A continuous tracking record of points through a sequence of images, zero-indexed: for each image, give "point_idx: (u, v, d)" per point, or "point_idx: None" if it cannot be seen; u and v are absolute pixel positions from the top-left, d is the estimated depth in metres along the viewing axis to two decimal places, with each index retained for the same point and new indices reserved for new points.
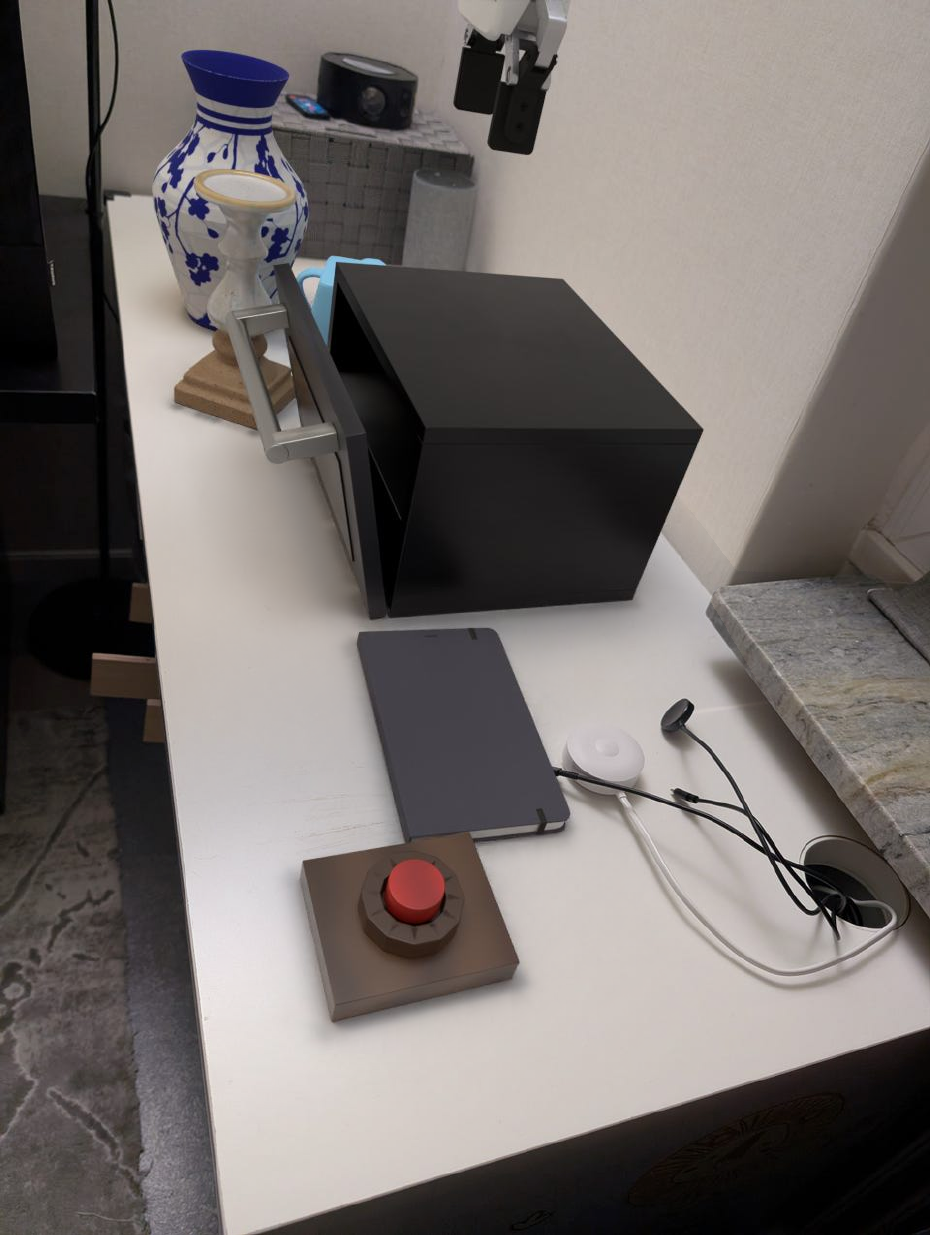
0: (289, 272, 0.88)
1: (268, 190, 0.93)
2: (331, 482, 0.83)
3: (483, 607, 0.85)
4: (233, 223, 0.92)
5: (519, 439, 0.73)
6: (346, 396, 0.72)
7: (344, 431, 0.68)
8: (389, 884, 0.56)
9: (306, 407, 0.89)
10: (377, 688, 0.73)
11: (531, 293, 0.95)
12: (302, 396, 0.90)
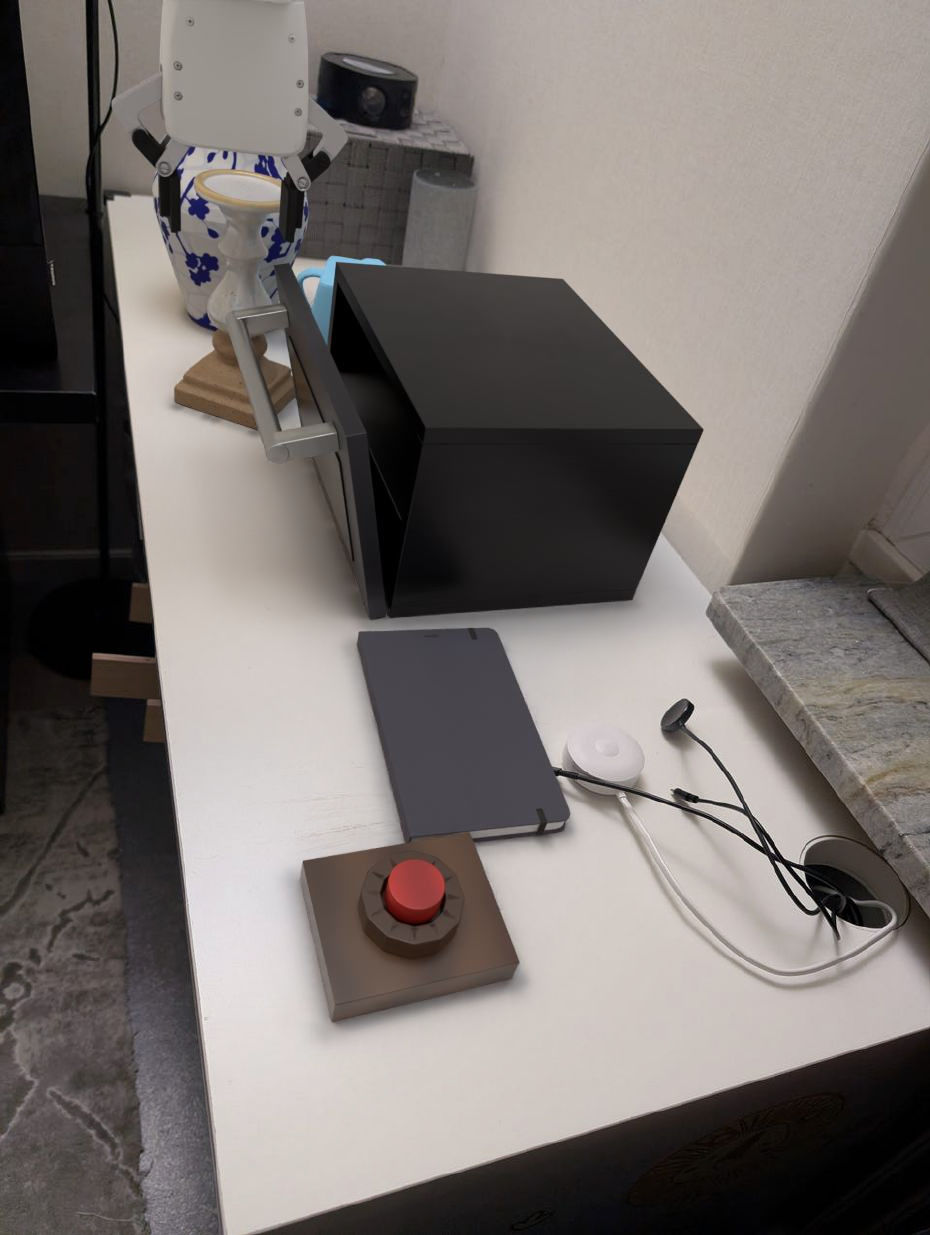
0: (289, 272, 0.88)
1: (268, 190, 0.93)
2: (331, 482, 0.83)
3: (483, 607, 0.85)
4: (233, 223, 0.92)
5: (519, 439, 0.73)
6: (347, 396, 0.72)
7: (345, 431, 0.68)
8: (389, 884, 0.56)
9: (306, 407, 0.89)
10: (377, 688, 0.73)
11: (531, 293, 0.95)
12: (302, 396, 0.90)
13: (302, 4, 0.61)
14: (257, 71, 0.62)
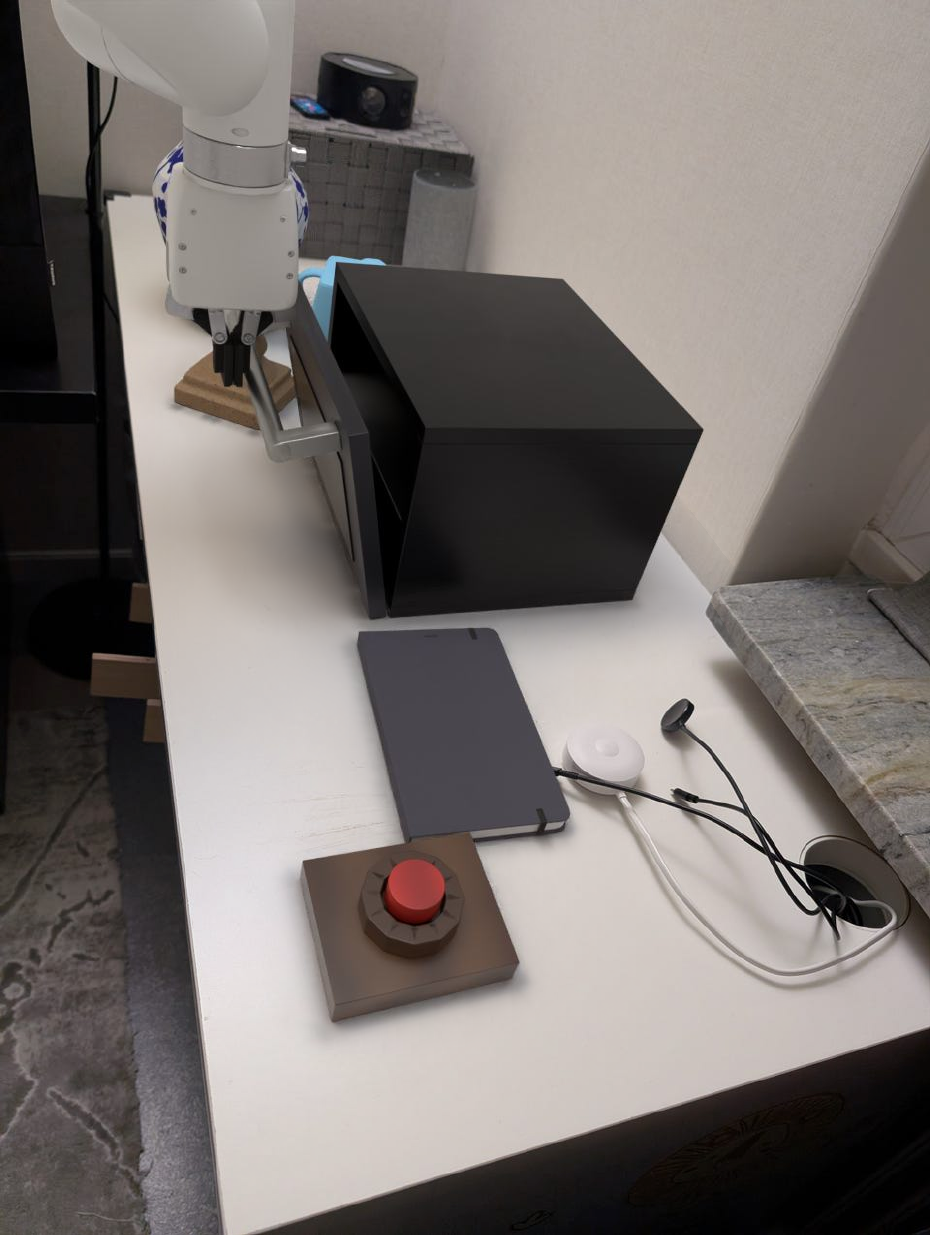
0: None
1: None
2: (332, 482, 0.83)
3: (483, 607, 0.85)
4: None
5: (519, 439, 0.73)
6: (349, 396, 0.72)
7: (347, 430, 0.68)
8: (389, 884, 0.56)
9: (307, 407, 0.89)
10: (377, 688, 0.73)
11: (531, 293, 0.95)
12: (303, 396, 0.90)
13: (292, 189, 0.69)
14: (252, 247, 0.70)
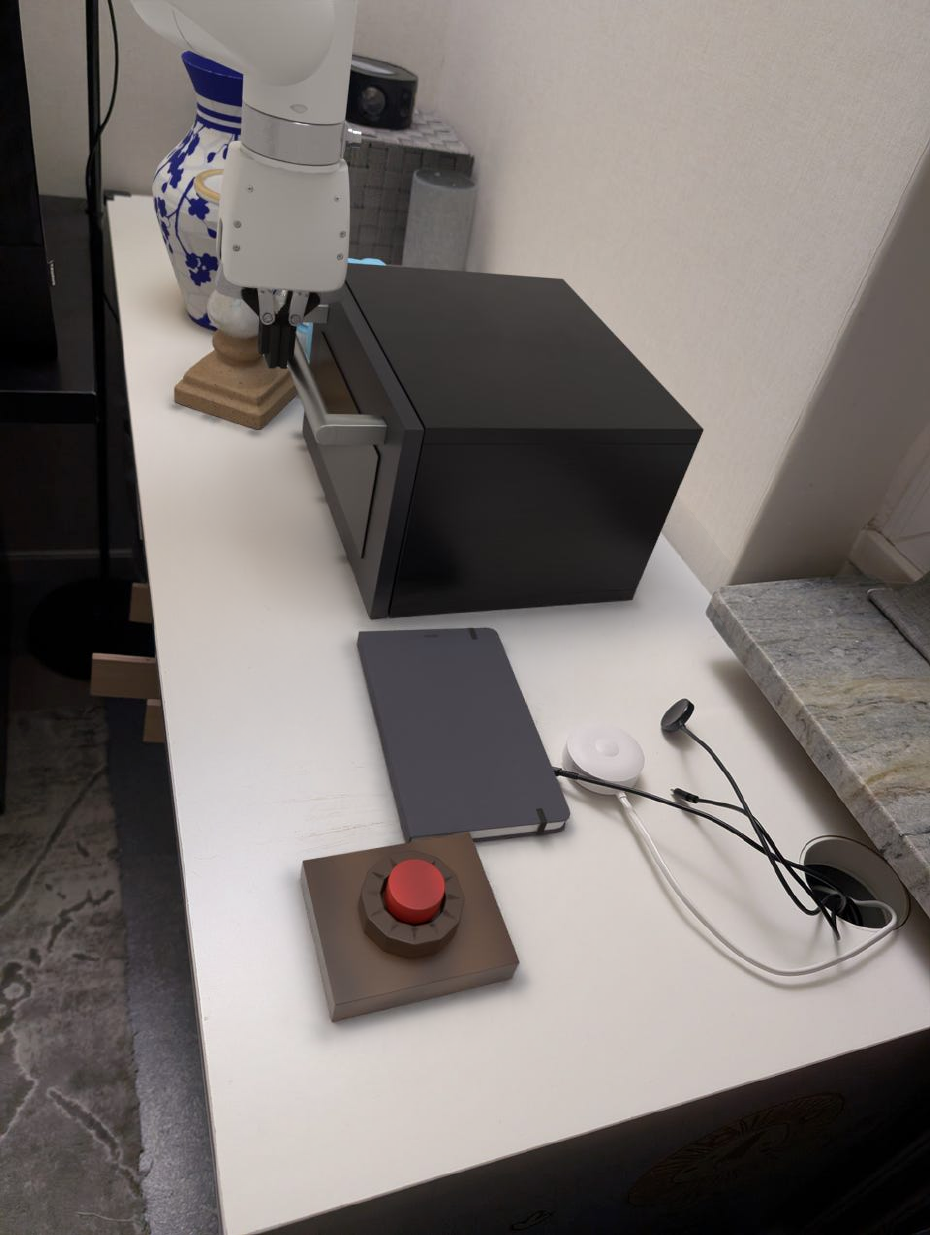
0: None
1: None
2: (351, 478, 0.84)
3: (483, 607, 0.85)
4: None
5: (519, 439, 0.73)
6: (402, 393, 0.73)
7: (403, 424, 0.69)
8: (389, 884, 0.56)
9: (329, 403, 0.90)
10: (377, 688, 0.73)
11: (531, 293, 0.95)
12: (325, 392, 0.91)
13: (346, 169, 0.69)
14: (306, 226, 0.70)
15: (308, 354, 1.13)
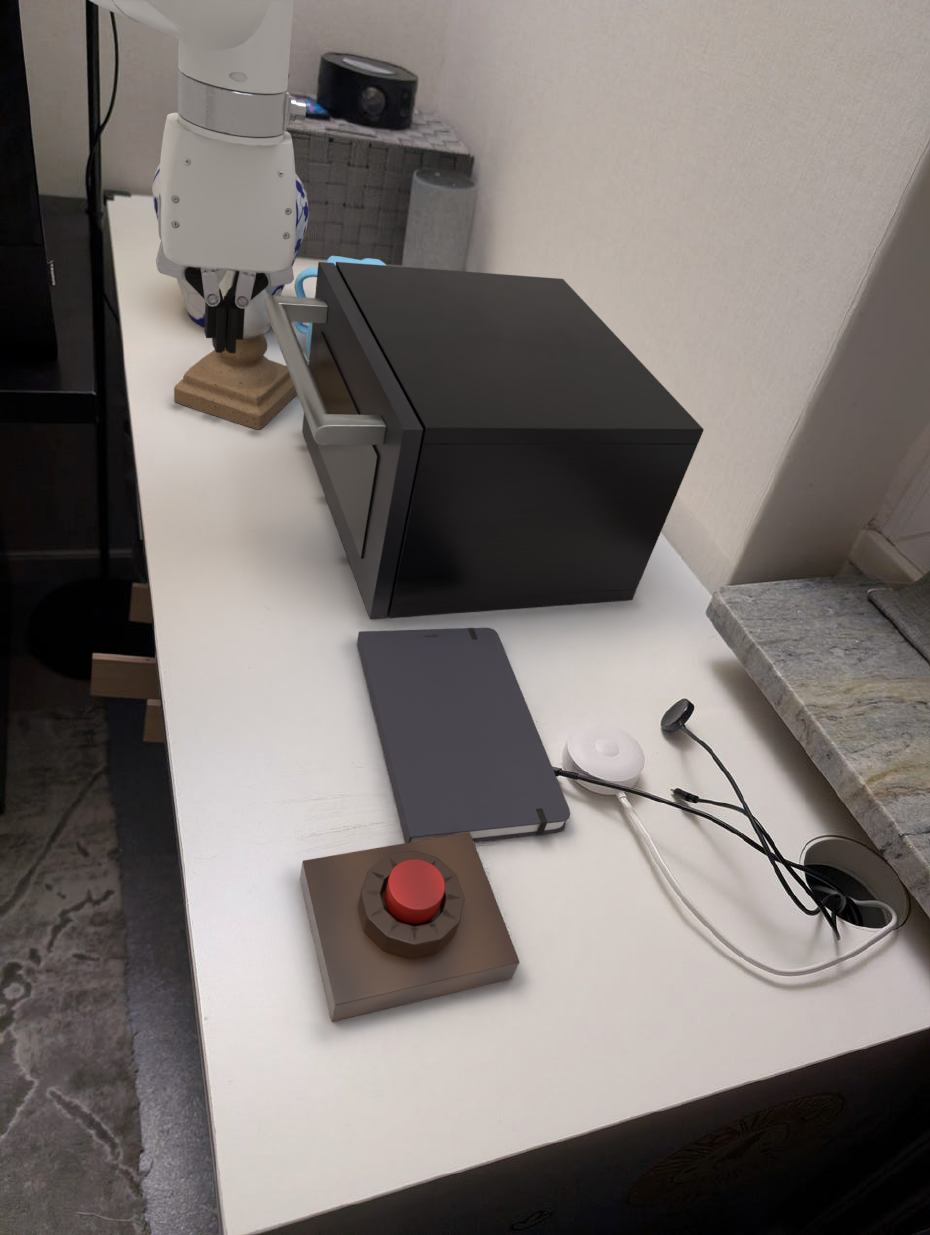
0: (335, 271, 0.89)
1: None
2: (350, 478, 0.84)
3: (483, 607, 0.85)
4: None
5: (519, 439, 0.73)
6: (401, 393, 0.73)
7: (402, 424, 0.69)
8: (389, 884, 0.56)
9: (328, 403, 0.90)
10: (377, 688, 0.73)
11: (531, 293, 0.95)
12: (324, 392, 0.91)
13: (290, 143, 0.66)
14: (248, 202, 0.67)
15: (308, 354, 1.13)
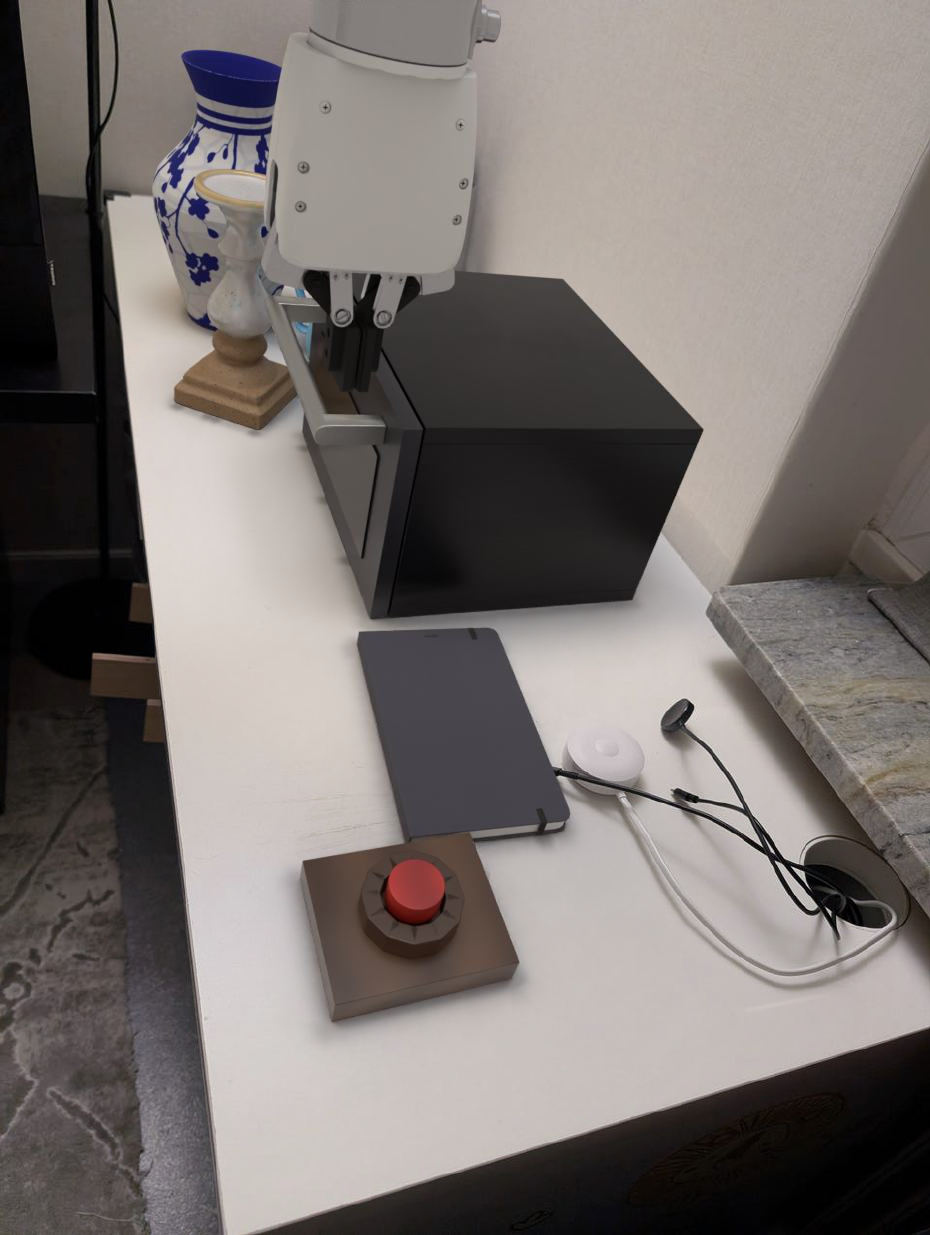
0: None
1: None
2: (350, 478, 0.84)
3: (483, 607, 0.85)
4: (233, 223, 0.92)
5: (519, 439, 0.73)
6: (401, 393, 0.73)
7: (402, 424, 0.69)
8: (389, 884, 0.56)
9: (328, 403, 0.90)
10: (377, 688, 0.73)
11: (531, 293, 0.95)
12: (324, 392, 0.91)
13: (476, 77, 0.43)
14: (410, 170, 0.44)
15: (308, 354, 1.13)
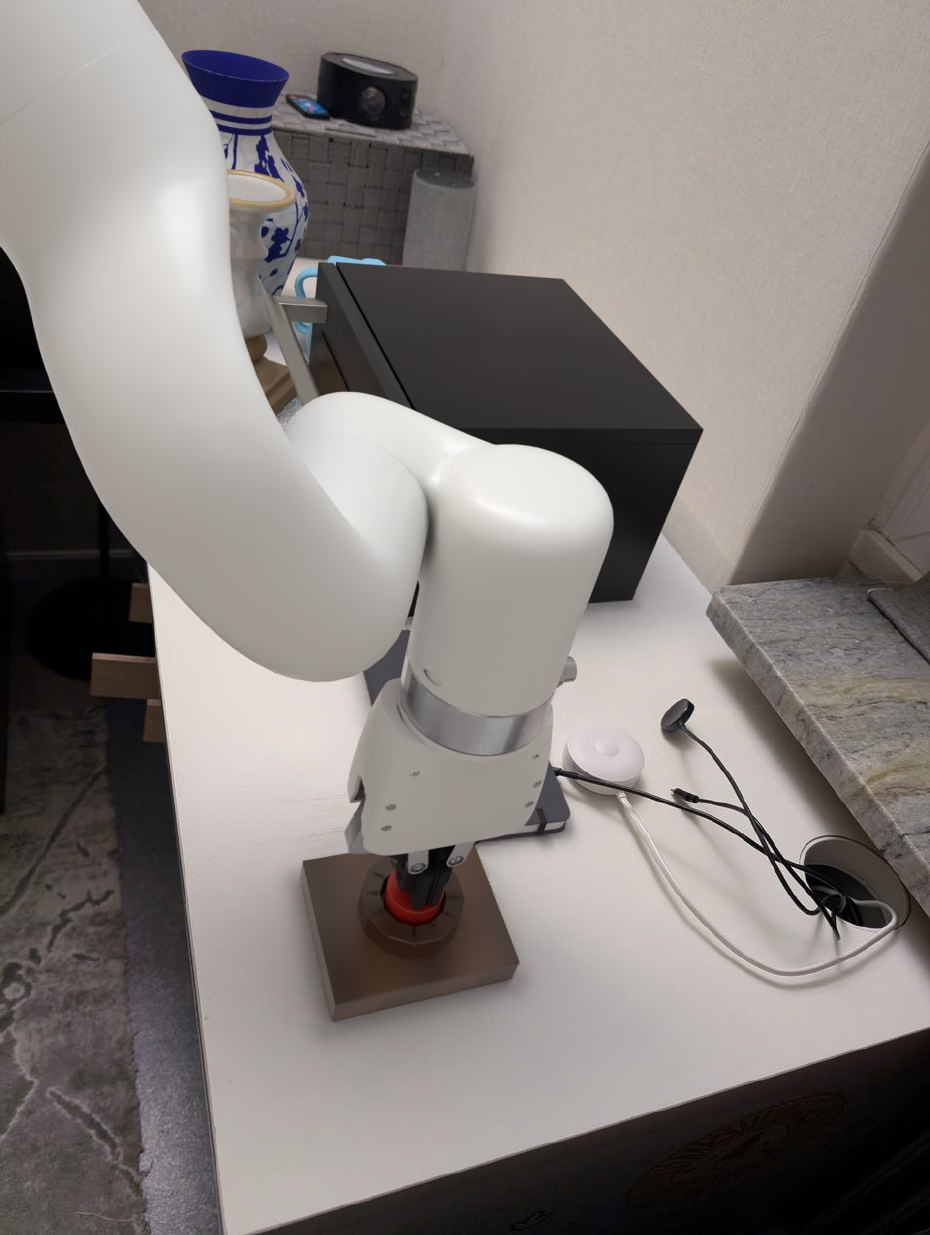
0: (335, 271, 0.89)
1: (268, 190, 0.93)
2: None
3: None
4: (233, 223, 0.92)
5: (519, 439, 0.73)
6: (401, 393, 0.73)
7: None
8: (388, 887, 0.56)
9: None
10: (377, 688, 0.73)
11: (531, 293, 0.95)
12: (324, 392, 0.91)
13: (552, 718, 0.46)
14: (489, 791, 0.47)
15: (308, 354, 1.13)
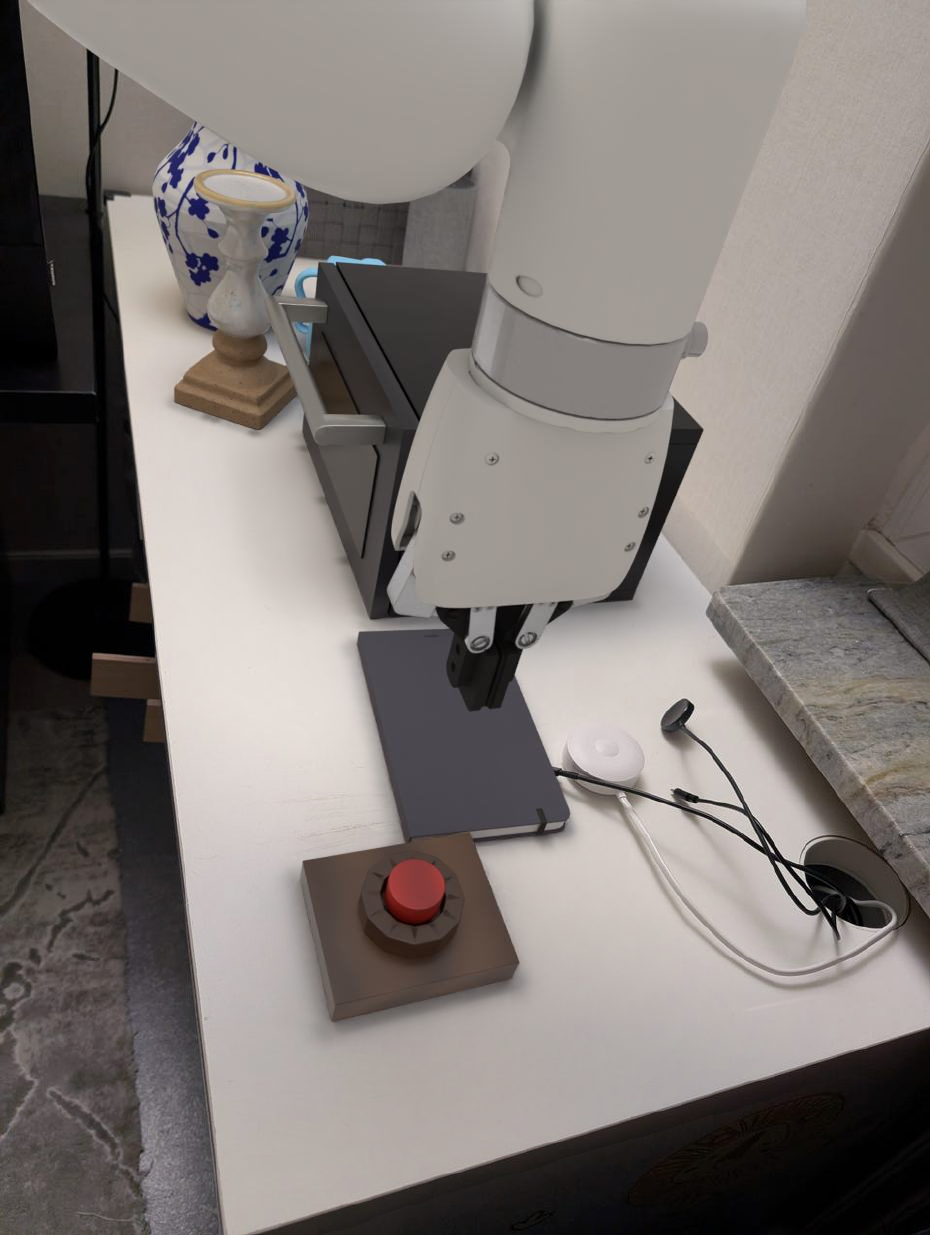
0: (335, 271, 0.89)
1: (268, 190, 0.93)
2: (350, 478, 0.84)
3: None
4: (233, 223, 0.92)
5: None
6: (401, 393, 0.73)
7: (402, 424, 0.69)
8: (389, 884, 0.56)
9: (328, 403, 0.90)
10: (377, 688, 0.73)
11: None
12: (324, 392, 0.91)
13: (673, 404, 0.34)
14: (585, 510, 0.35)
15: (308, 354, 1.13)
